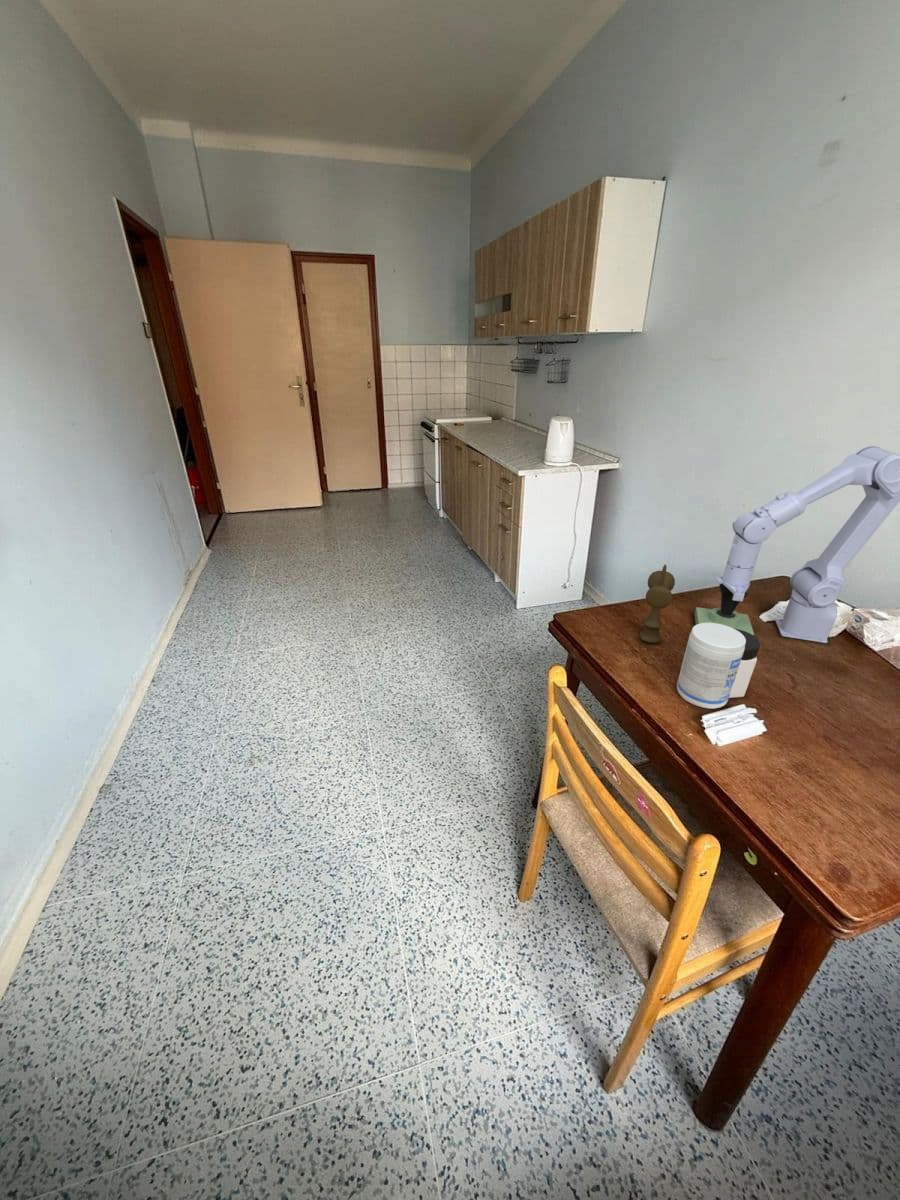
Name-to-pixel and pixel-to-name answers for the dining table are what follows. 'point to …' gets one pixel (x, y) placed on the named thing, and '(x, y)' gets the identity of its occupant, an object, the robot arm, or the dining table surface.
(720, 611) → the push button
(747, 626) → the green button box
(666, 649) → the dining table surface
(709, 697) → the supplement tub
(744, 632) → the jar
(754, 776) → the dining table surface
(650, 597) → the kendama
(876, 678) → the dining table surface
